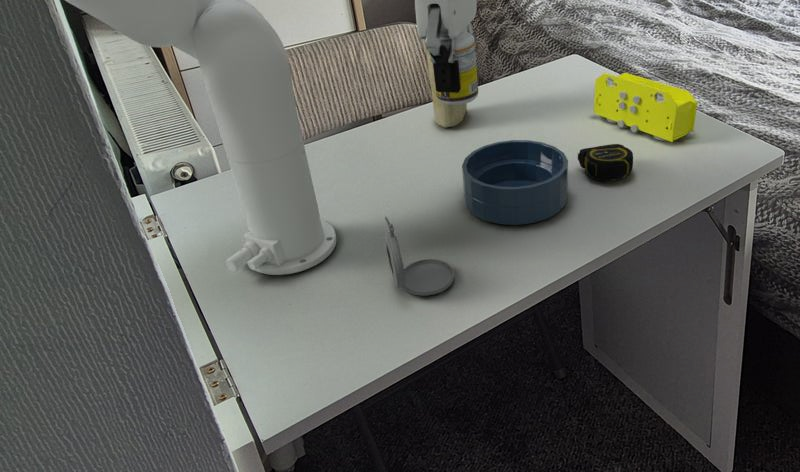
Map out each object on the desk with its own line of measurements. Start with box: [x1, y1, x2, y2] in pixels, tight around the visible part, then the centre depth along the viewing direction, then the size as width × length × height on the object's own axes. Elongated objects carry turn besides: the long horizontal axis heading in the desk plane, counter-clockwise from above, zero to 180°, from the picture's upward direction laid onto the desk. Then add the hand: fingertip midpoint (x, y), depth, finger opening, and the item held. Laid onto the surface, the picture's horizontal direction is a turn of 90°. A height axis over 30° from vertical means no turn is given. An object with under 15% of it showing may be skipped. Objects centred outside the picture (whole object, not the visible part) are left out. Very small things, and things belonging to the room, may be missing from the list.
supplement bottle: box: [436, 27, 479, 105], centre depth 84 cm, size 6×6×10 cm
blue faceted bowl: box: [461, 139, 569, 226], centre depth 91 cm, size 14×14×6 cm
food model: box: [427, 50, 468, 129], centre depth 113 cm, size 10×7×20 cm
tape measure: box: [577, 143, 634, 181], centre depth 95 cm, size 7×7×4 cm
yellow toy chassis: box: [593, 72, 698, 143], centre depth 105 cm, size 16×6×8 cm, turn 32°
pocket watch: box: [384, 216, 455, 296], centre depth 77 cm, size 8×8×10 cm
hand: (456, 80), depth 85 cm, fingers closed on supplement bottle, 5 cm apart
